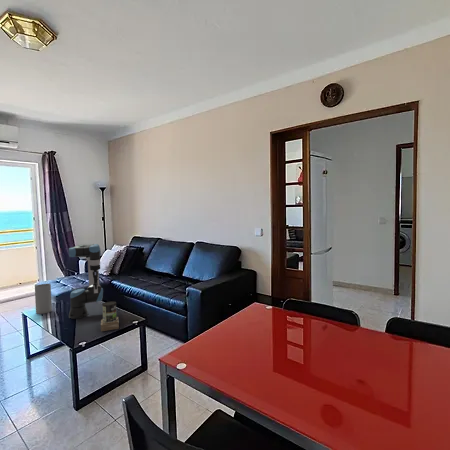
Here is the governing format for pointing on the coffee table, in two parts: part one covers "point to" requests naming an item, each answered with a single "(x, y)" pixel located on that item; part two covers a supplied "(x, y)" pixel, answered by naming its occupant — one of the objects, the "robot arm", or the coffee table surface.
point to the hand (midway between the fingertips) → (95, 290)
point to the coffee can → (109, 312)
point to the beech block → (109, 325)
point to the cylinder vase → (43, 298)
